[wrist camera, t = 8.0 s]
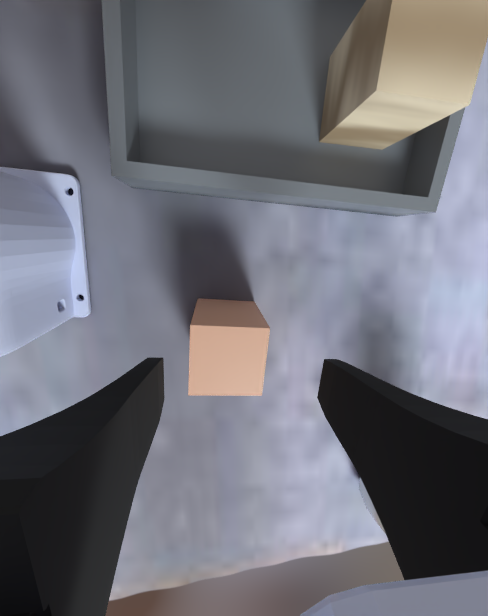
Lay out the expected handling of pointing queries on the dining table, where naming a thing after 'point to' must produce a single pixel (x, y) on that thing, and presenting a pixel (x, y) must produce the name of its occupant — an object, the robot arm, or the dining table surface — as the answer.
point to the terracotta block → (227, 348)
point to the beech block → (402, 69)
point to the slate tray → (251, 108)
